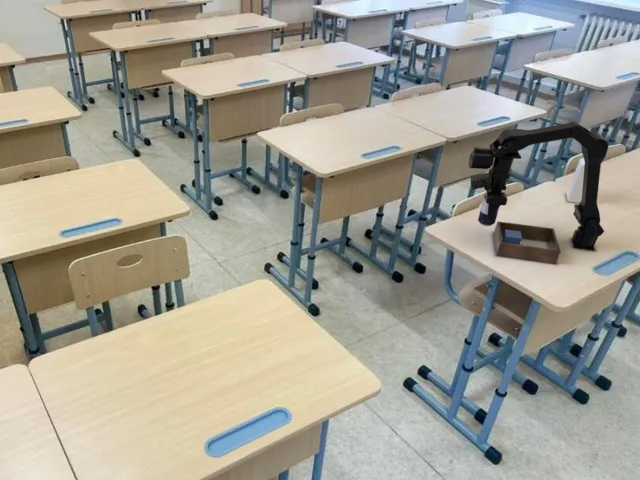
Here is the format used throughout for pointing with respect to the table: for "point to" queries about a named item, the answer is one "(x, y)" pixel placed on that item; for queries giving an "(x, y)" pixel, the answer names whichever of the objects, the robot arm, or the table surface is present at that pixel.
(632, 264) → the table surface
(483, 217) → the beverage can
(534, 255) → the wooden tray
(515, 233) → the block
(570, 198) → the milk carton
